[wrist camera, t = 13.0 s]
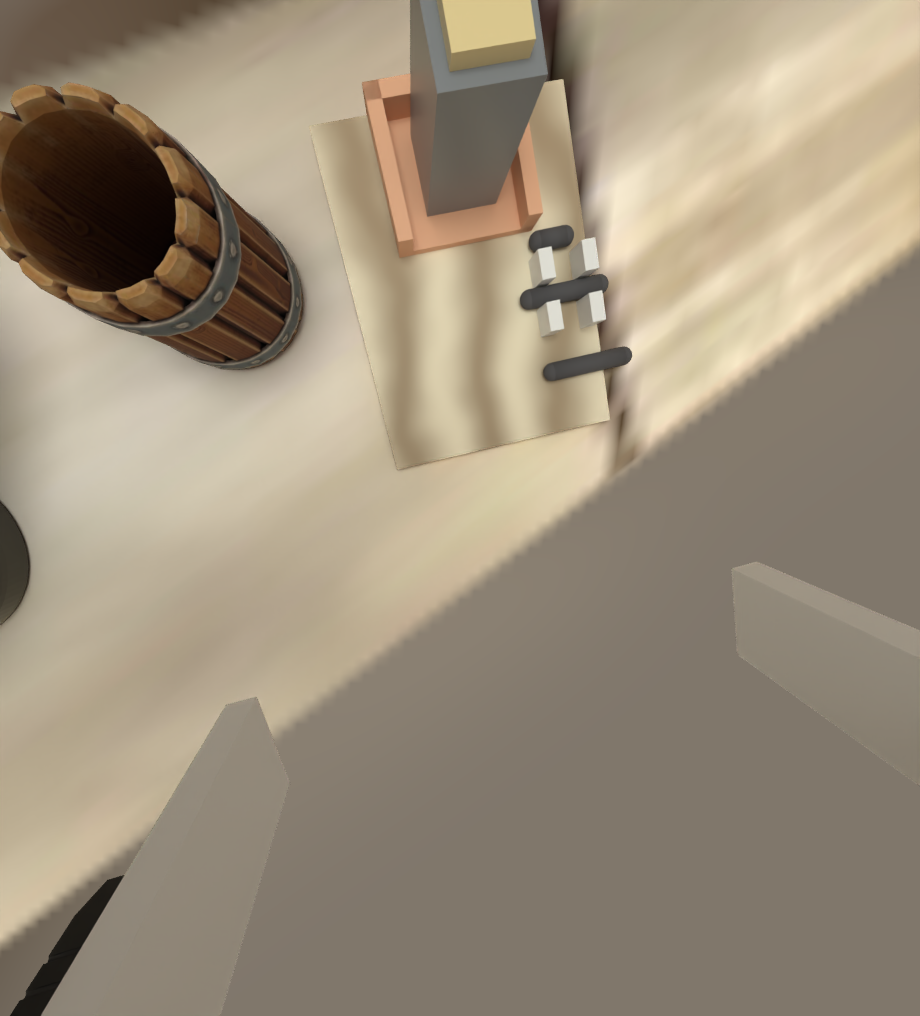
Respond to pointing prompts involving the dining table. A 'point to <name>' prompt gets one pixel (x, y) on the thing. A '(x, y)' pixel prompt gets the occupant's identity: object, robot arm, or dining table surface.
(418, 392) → the board
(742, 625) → the robot arm
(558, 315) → the cable clips
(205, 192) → the mug
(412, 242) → the end holder
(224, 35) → the dining table surface
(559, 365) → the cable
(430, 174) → the grey tall block
